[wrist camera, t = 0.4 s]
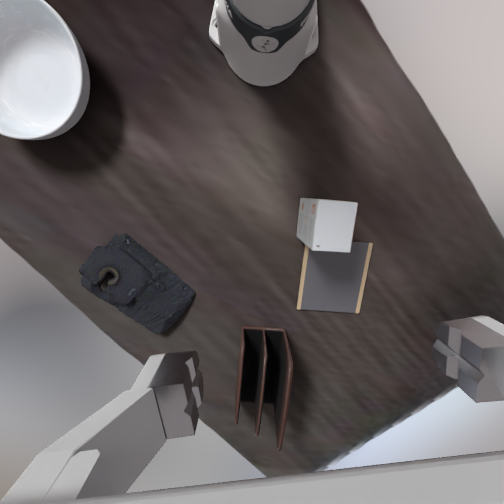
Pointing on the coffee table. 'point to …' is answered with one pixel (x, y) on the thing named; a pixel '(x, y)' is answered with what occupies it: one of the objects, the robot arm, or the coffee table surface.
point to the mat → (334, 279)
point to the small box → (326, 224)
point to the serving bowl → (39, 72)
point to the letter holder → (265, 374)
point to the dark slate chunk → (137, 283)
